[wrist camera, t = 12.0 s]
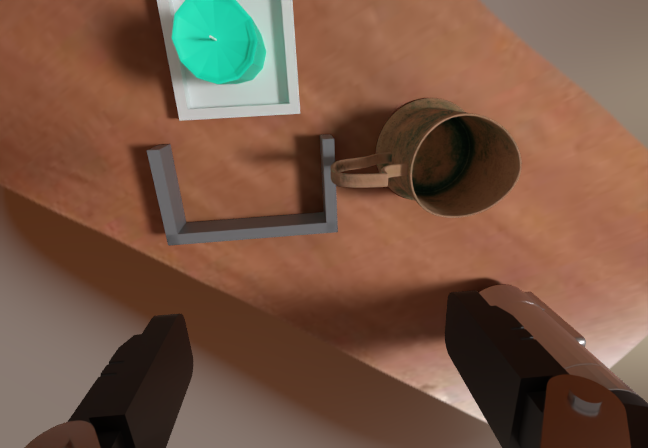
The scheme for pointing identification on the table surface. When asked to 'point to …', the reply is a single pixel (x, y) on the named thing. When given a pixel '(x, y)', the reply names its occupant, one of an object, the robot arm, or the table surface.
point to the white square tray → (248, 97)
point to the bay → (241, 227)
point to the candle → (218, 41)
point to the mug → (439, 159)
